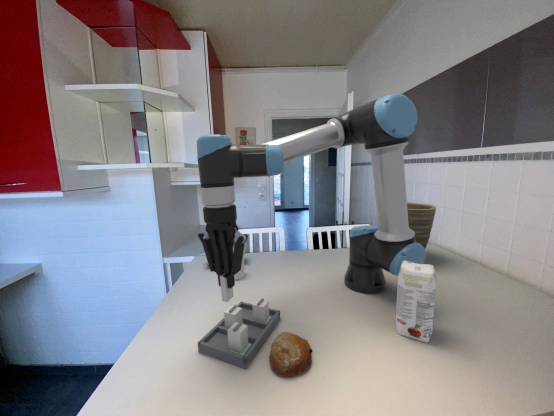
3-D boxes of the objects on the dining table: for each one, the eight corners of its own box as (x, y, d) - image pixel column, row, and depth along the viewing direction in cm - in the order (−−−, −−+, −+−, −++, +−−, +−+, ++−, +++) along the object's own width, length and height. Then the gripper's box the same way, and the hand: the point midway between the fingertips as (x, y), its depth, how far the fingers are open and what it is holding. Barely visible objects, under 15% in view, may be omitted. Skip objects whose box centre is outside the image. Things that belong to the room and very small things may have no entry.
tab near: (248, 343, 59) (247, 323, 59) (241, 352, 56) (239, 331, 56) (236, 339, 61) (235, 319, 60) (228, 348, 58) (227, 328, 57)
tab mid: (242, 324, 67) (241, 306, 66) (235, 331, 64) (234, 312, 63) (232, 321, 69) (231, 303, 68) (225, 328, 65) (223, 309, 65)
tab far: (269, 316, 70) (268, 299, 69) (264, 323, 67) (263, 305, 66) (258, 313, 72) (257, 296, 71) (253, 320, 69) (252, 302, 68)
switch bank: (280, 318, 71) (280, 310, 71) (246, 369, 53) (245, 359, 53) (241, 308, 77) (240, 301, 77) (198, 351, 59) (197, 342, 59)
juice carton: (431, 346, 59) (438, 275, 56) (393, 334, 63) (397, 268, 60) (431, 329, 65) (436, 264, 62) (396, 319, 70) (400, 258, 67)
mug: (245, 272, 105) (244, 247, 103) (245, 279, 98) (243, 252, 96) (222, 274, 104) (220, 248, 102) (220, 281, 97) (218, 253, 95)
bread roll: (275, 358, 61) (261, 334, 60) (310, 340, 61) (297, 315, 60) (279, 393, 51) (262, 366, 50) (321, 372, 51) (305, 343, 50)
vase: (442, 273, 100) (440, 206, 93) (381, 270, 111) (375, 209, 104) (432, 249, 121) (430, 192, 115) (382, 248, 132) (377, 196, 125)
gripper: (252, 202, 55) (258, 295, 59) (208, 202, 60) (216, 287, 64) (233, 208, 48) (242, 312, 52) (186, 207, 54) (196, 301, 57)
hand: (227, 298), depth 58 cm, fingers closed
